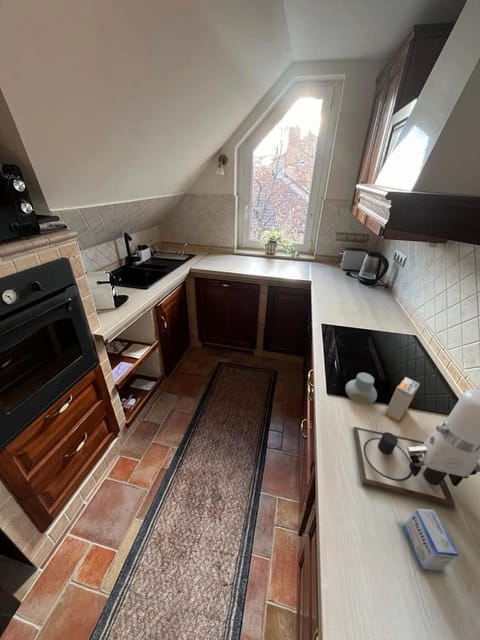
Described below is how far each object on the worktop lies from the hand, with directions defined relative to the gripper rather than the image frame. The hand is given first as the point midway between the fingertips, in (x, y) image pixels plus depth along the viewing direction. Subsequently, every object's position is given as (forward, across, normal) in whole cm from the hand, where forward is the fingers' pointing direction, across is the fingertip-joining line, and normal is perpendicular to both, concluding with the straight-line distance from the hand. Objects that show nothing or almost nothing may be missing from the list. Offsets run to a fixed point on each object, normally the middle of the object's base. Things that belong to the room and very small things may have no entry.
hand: (432, 475), depth 69 cm
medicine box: (+3, -7, -17) cm, 19 cm away
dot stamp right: (+1, 0, 0) cm, 1 cm away
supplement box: (+3, -2, +24) cm, 24 cm away
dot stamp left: (+1, -10, +6) cm, 12 cm away
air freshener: (+3, -14, +28) cm, 32 cm away
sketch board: (+3, -7, +3) cm, 8 cm away
